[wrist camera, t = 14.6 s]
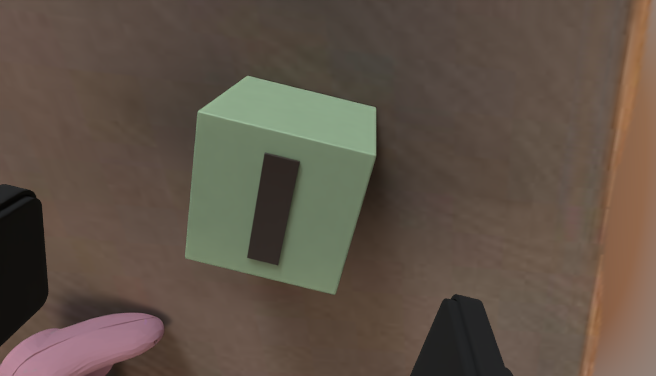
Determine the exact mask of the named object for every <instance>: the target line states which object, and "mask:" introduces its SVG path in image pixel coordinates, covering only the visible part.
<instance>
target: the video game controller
mask: <svg viewBox="0 0 656 376" xmlns="http://www.w3.org/2000/svg"><path fill="white" fill-rule="evenodd" d="M163 334H164V325H163V322H162V321H161V320H160V319H159V318H157V317H155V316H152V315H149V314H144V313H119V314H111V315H106V316H101V317H97V318H93V319H89V320H86V321H83V322H80V323H77V324H74V325H72V326H69V327H66V328H63V329H57V328H54V329H47V330H44V331H41V332H39V333H36V334H34V335H32V336H31V337H29V338H27V339H25V340H24V341H22V342H21V343H20V344H18V345H17V346H16V347H15V348H14V349H13V350H12V351H11V352H10V353H9V354H8V355H7V357H6V358H5V359H4V360H3V362H2V364H1V366H0V376H105V375H106V374H107V373H108V372H109V371H110V369H111V368H112V366H113V364H115V363H118V362H121V361H124V360H127V359H130V358H133V357H135V356H138V355H140V354H142V353H144V352H145V351H147V350H149V349H150V348H152V347H154V346H155V345H156V344H157V343H158V342H159V341H160V339H161V338H162V337H163Z"/></svg>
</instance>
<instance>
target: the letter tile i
mask: <svg viewBox="0 0 656 376" xmlns="http://www.w3.org/2000/svg"><path fill="white" fill-rule="evenodd" d="M375 159H376V107H372V106H368V105H364V104H360V103H356V102H352V101H348V100H344V99H340V98H336V97H331V96H327V95H323V94H319V93H315V92H311V91H307V90H303V89H299V88H295V87H291V86H287V85H283V84H279V83H275V82H271V81H267V80H263V79H259V78H255V77H251V76H247V77H245V78H244V79H242V80H241V81H240V82H238V83H237V84H235V85H234V86H233V87H231V88H230V89H228V90H227V91H226V92H224V93H223V94H221V95H220V96H219V97H217V98H216V99H214V100H213V101H212V102H210V103H209V104H207V105H206V106H205V107H203V108H202V109H200V110H199V111H198V114H197V125H196V137H195V148H194V160H193V171H192V182H191V194H190V205H189V217H188V228H187V240H186V251H185V258H186V259H190V260H194V261H198V262H202V263H206V264H210V265H214V266H218V267H223V268H227V269H231V270H235V271H239V272H243V273H247V274H251V275H255V276H259V277H263V278H267V279H272V280H276V281H280V282H284V283H288V284H292V285H296V286H300V287H304V288H308V289H312V290H317V291H321V292H325V293H329V294H333V295H335V294H336V292H337V288H338V285H339V281H340V278H341V275H342V271H343V268H344V264H345V261H346V258H347V254H348V251H349V247H350V244H351V241H352V237H353V234H354V230H355V227H356V224H357V220H358V217H359V213H360V210H361V207H362V203H363V200H364V197H365V193H366V190H367V186H368V183H369V180H370V176H371V173H372V169H373V166H374V163H375Z"/></svg>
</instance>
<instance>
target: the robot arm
mask: <svg viewBox="0 0 656 376" xmlns="http://www.w3.org/2000/svg"><path fill="white" fill-rule="evenodd" d="M47 296H48V279H47V266H46V253H45V240H44V227H43V214H42V204H41V202H40V200H39V199H37V198H36V195H35V194H34V192H32V191H31V190H27V189H23V188H19V187H15V186H11V185H6V184H2V185H0V346H1V345H2V344H3V343H4V342H5V341H6V340H8V339H9V338H10V337H11V336H12V335H13V334H14V333H15V332H16V331H17V330H18V329H19V328H20V327H21V326H22V325H23V324H24V323H25V322H26V321H28V320H29V319H30V318H31V317H32V316H33V315H34V314H35V313H36V312H37V311H38V310H39V309H40V308H41V307H42V306H43V305H44V303H45V301H46V299H47ZM410 376H513V374H512V373H511V371H510V370H509V369H508V368H505V366H504V363H503V360H502V357H501V354H500V352H499V349H498V346H497V343H496V340H495V337H494V334H493V332H492V329H491V326H490V323H489V320H488V317H487V314H486V312H485V309H484V306H483V304H482V302H481V301H480V300H478V299H474V298H470V297H466V296H461V295H457V294H455V295H453V296H452V298H451V299H447V298H446V299H444V300H443V301H442V303H441V306H440V308H439V310H438V312H437V315H436V317H435V319H434V322H433V324H432V326H431V329H430V331H429V333H428V336H427V338H426V340H425V342H424V345H423V347H422V349H421V352H420V354H419V356H418V359H417V361H416V363H415V366H414V368H413V370H412V372H411V375H410Z"/></svg>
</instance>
